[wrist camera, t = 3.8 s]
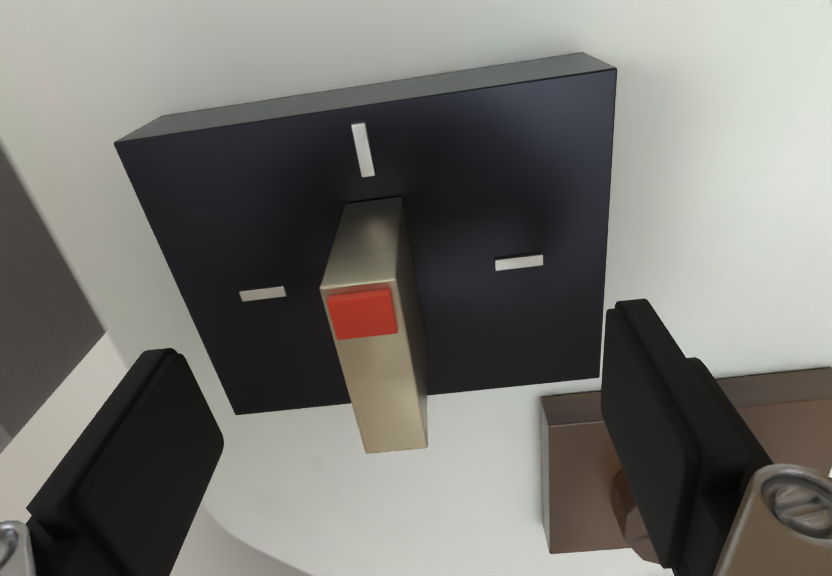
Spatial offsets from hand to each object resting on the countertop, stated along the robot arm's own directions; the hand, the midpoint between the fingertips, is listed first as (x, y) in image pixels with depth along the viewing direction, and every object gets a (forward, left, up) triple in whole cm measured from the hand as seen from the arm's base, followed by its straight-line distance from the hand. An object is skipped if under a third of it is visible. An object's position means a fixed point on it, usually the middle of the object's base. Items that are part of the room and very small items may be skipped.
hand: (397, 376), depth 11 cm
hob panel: (0, 0, -8) cm, 8 cm away
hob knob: (0, 0, -5) cm, 5 cm away
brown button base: (+11, -13, -8) cm, 18 cm away
